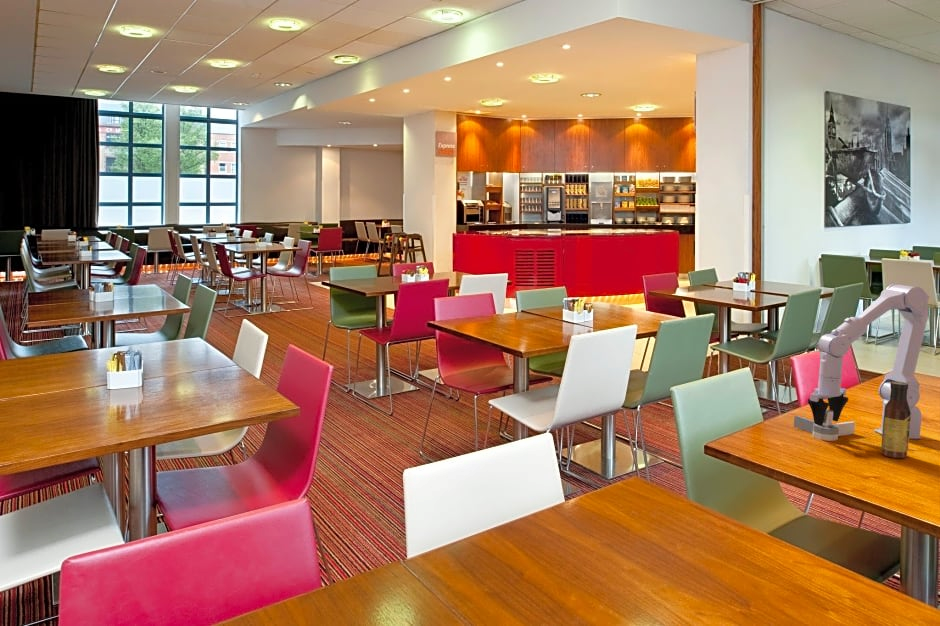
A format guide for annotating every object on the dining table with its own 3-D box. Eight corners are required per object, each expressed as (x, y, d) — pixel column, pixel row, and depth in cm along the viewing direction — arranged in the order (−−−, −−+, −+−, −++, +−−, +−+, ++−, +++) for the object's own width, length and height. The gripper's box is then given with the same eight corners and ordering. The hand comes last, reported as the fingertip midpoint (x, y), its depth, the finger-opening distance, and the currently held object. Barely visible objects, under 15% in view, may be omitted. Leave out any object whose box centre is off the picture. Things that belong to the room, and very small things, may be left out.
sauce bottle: (911, 460, 191) (918, 386, 188) (885, 458, 192) (892, 385, 189) (901, 452, 197) (908, 380, 194) (876, 450, 198) (883, 379, 195)
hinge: (826, 441, 205) (827, 429, 205) (786, 427, 218) (787, 416, 218) (862, 436, 211) (863, 424, 210) (821, 423, 224) (822, 412, 223)
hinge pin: (827, 435, 211) (829, 409, 210) (833, 438, 208) (835, 411, 207) (817, 435, 211) (819, 409, 210) (823, 439, 208) (825, 412, 207)
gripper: (831, 370, 214) (827, 415, 216) (801, 376, 206) (798, 422, 208) (854, 375, 208) (850, 421, 210) (825, 381, 200) (821, 428, 202)
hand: (826, 422), depth 209 cm, fingers open, 7 cm apart
